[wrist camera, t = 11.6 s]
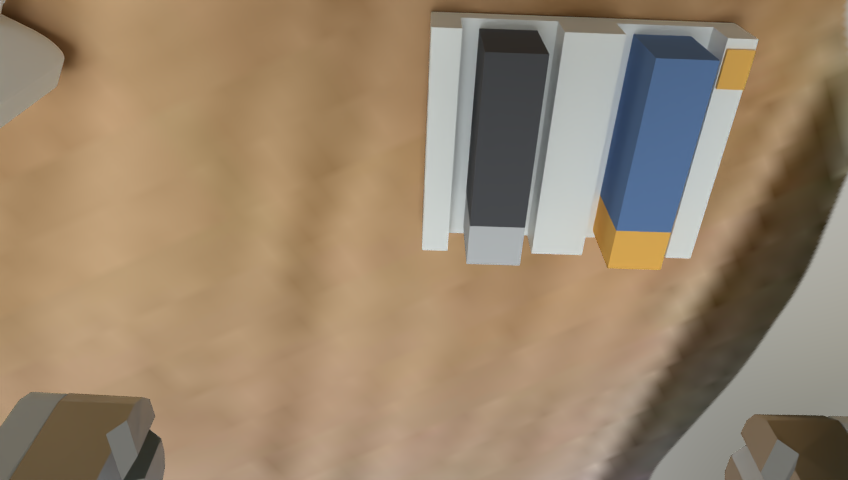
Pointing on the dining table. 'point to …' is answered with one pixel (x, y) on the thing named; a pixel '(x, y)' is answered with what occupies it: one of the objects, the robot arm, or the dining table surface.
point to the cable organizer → (25, 67)
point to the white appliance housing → (569, 122)
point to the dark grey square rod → (503, 143)
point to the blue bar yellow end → (652, 147)
